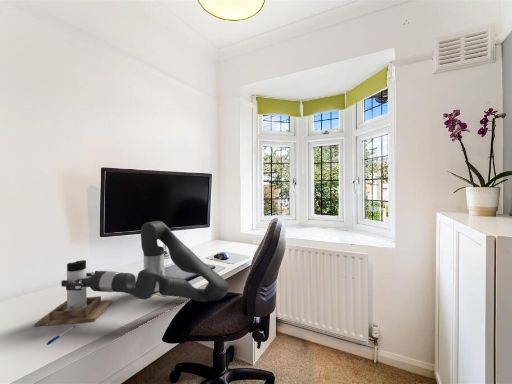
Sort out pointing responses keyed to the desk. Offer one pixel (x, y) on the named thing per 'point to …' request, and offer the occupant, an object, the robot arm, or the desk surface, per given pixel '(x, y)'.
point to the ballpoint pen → (59, 335)
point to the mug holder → (75, 313)
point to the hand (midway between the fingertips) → (72, 279)
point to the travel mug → (75, 271)
